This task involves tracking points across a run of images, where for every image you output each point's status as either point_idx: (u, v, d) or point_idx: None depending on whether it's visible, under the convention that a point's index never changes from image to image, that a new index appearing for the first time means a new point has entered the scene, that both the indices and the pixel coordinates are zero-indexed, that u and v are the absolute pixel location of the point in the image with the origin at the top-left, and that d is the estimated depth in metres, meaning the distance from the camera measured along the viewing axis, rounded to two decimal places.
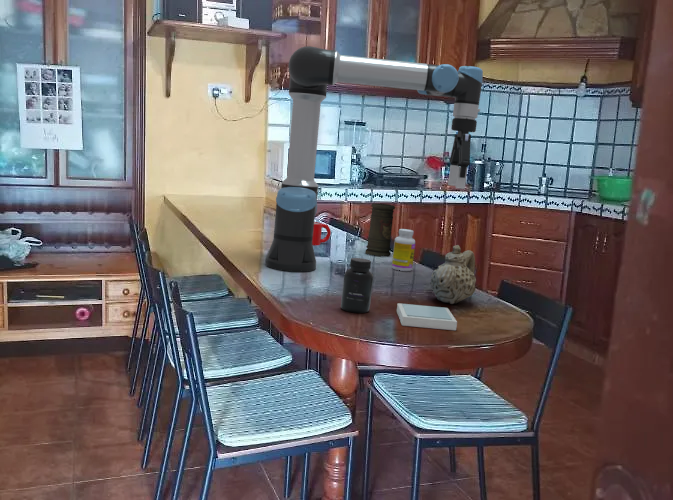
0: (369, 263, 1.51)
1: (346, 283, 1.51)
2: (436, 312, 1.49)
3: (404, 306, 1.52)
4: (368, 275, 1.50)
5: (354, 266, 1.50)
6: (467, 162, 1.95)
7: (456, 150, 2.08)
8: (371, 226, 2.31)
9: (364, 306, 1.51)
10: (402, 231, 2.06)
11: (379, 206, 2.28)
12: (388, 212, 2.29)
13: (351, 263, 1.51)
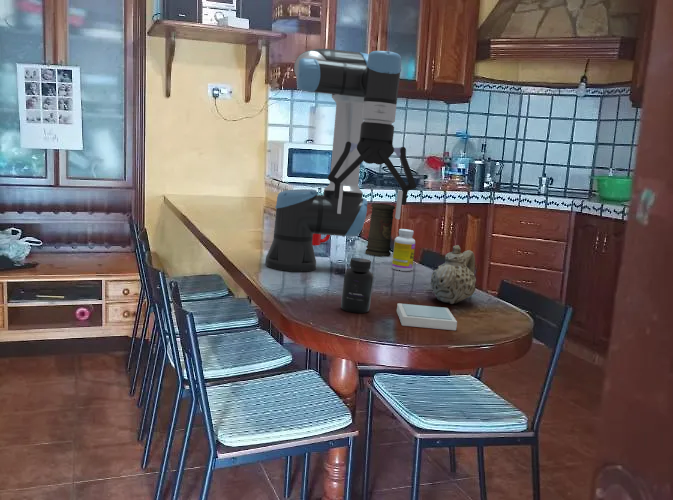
0: (369, 263, 1.51)
1: (346, 283, 1.51)
2: (436, 312, 1.49)
3: (404, 306, 1.52)
4: (368, 275, 1.50)
5: (354, 266, 1.50)
6: (328, 177, 1.49)
7: (388, 168, 1.50)
8: (371, 226, 2.31)
9: (364, 306, 1.51)
10: (402, 231, 2.06)
11: (379, 206, 2.28)
12: (388, 212, 2.29)
13: (351, 263, 1.51)
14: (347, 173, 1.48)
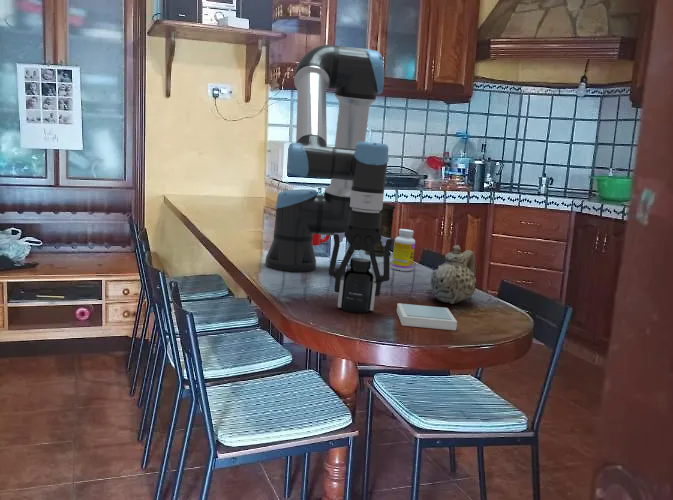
0: (369, 263, 1.51)
1: (346, 283, 1.51)
2: (436, 312, 1.49)
3: (404, 306, 1.52)
4: (368, 275, 1.50)
5: (354, 266, 1.50)
6: (328, 272, 1.52)
7: None
8: None
9: (364, 306, 1.51)
10: (402, 231, 2.06)
11: None
12: (388, 212, 2.29)
13: (351, 263, 1.51)
14: (344, 266, 1.51)
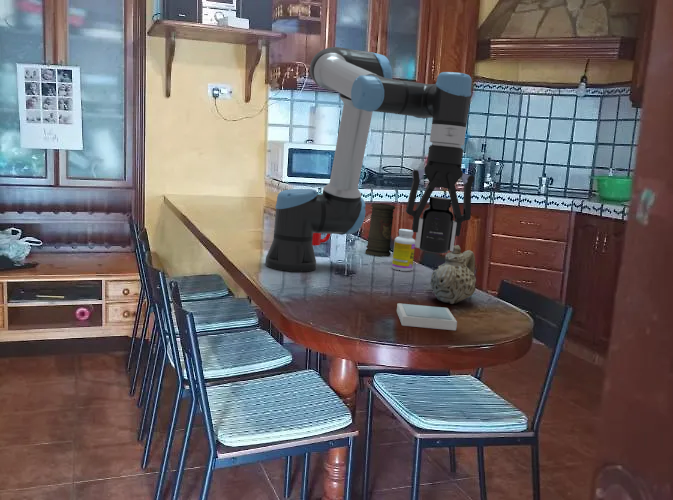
0: (450, 201, 1.44)
1: (425, 222, 1.44)
2: (436, 312, 1.49)
3: (404, 306, 1.52)
4: (449, 213, 1.44)
5: (434, 204, 1.44)
6: (407, 211, 1.45)
7: (449, 193, 1.46)
8: (371, 226, 2.31)
9: (444, 246, 1.44)
10: (402, 231, 2.06)
11: (379, 206, 2.28)
12: (388, 212, 2.29)
13: (431, 201, 1.45)
14: (423, 204, 1.44)
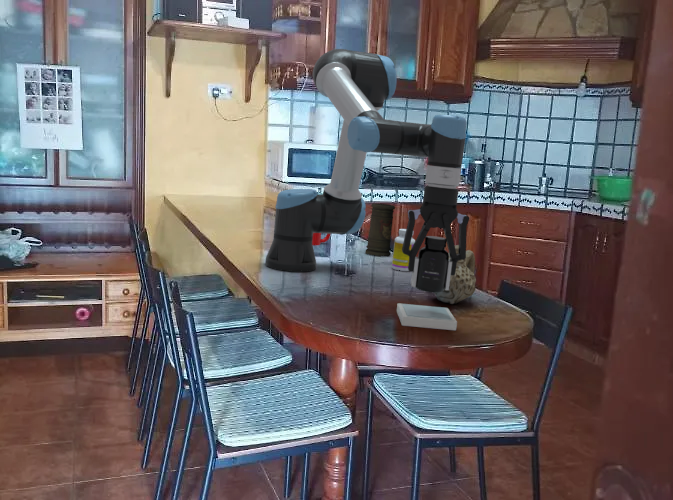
0: (445, 241, 1.46)
1: (421, 262, 1.46)
2: (436, 312, 1.49)
3: (404, 306, 1.52)
4: (445, 253, 1.45)
5: (429, 244, 1.45)
6: (402, 250, 1.47)
7: None
8: (371, 226, 2.31)
9: (440, 285, 1.46)
10: (402, 231, 2.06)
11: (379, 206, 2.28)
12: (388, 212, 2.29)
13: (427, 241, 1.46)
14: (419, 244, 1.46)
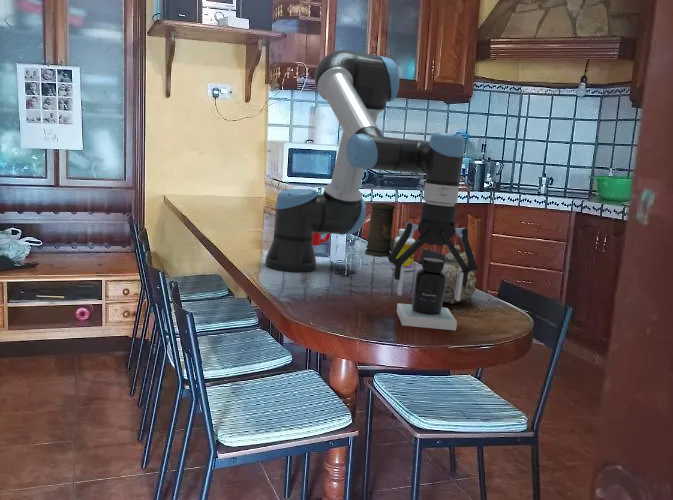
0: (442, 263, 1.47)
1: (419, 284, 1.47)
2: None
3: (404, 306, 1.52)
4: (442, 276, 1.46)
5: (427, 267, 1.46)
6: (389, 258, 1.47)
7: (448, 248, 1.48)
8: (371, 226, 2.31)
9: (437, 307, 1.47)
10: (402, 231, 2.06)
11: (379, 206, 2.28)
12: (388, 212, 2.29)
13: (424, 263, 1.47)
14: (408, 255, 1.46)
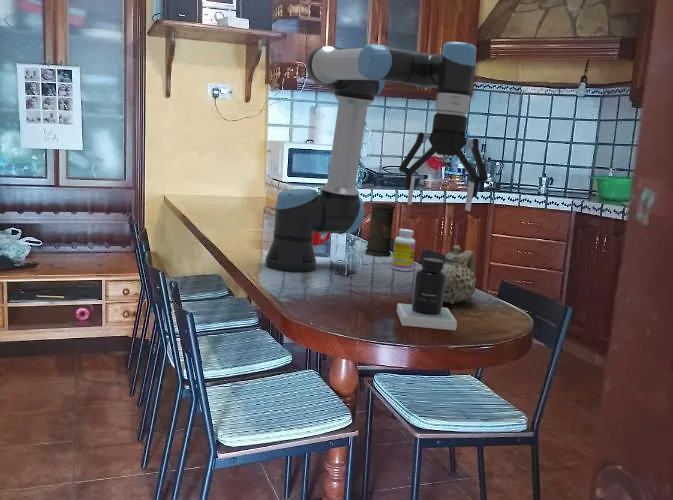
0: (442, 263, 1.47)
1: (418, 284, 1.47)
2: None
3: (404, 306, 1.52)
4: (442, 276, 1.46)
5: (427, 267, 1.46)
6: (399, 167, 1.50)
7: (459, 159, 1.50)
8: (371, 226, 2.31)
9: (437, 307, 1.47)
10: (402, 231, 2.06)
11: (379, 206, 2.28)
12: (388, 212, 2.29)
13: (424, 263, 1.47)
14: (419, 164, 1.49)
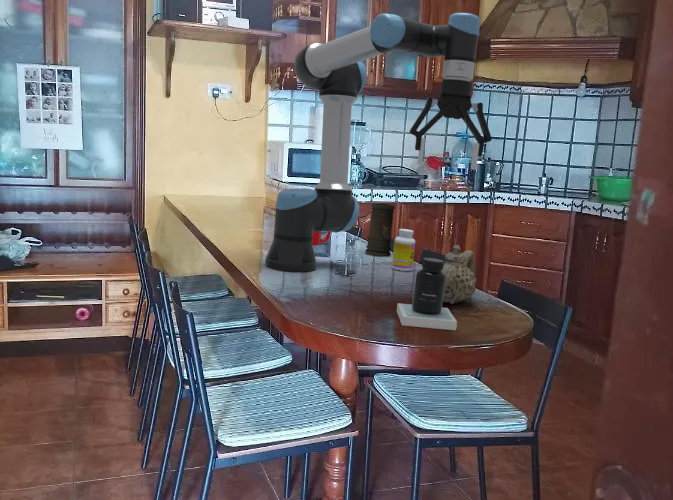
0: (442, 263, 1.47)
1: (419, 284, 1.47)
2: None
3: (404, 306, 1.52)
4: (442, 276, 1.46)
5: (427, 267, 1.46)
6: (410, 130, 1.62)
7: (465, 122, 1.63)
8: (371, 226, 2.31)
9: (437, 307, 1.47)
10: (402, 231, 2.06)
11: (379, 206, 2.28)
12: (388, 212, 2.29)
13: (424, 263, 1.47)
14: (428, 127, 1.61)
